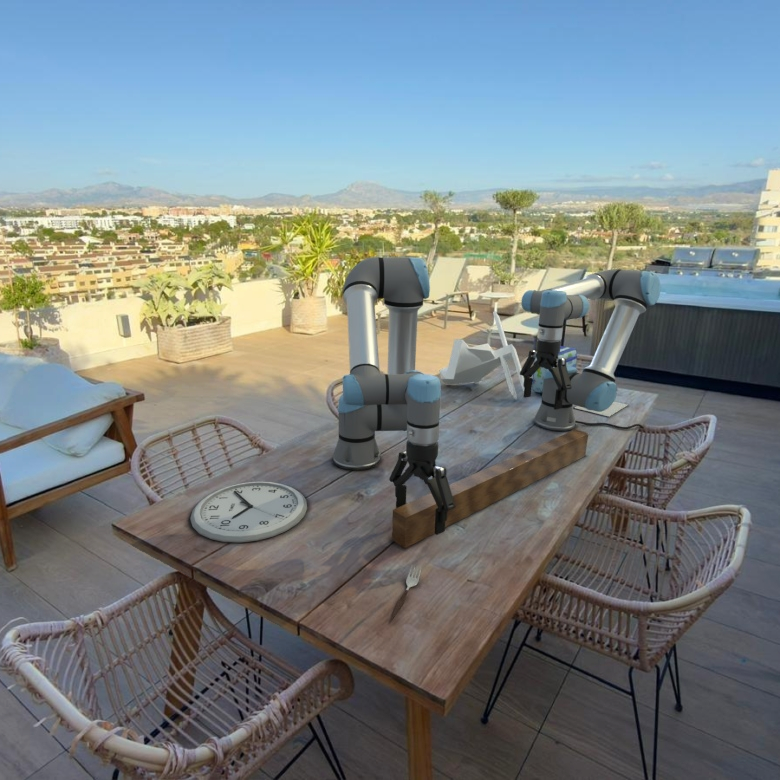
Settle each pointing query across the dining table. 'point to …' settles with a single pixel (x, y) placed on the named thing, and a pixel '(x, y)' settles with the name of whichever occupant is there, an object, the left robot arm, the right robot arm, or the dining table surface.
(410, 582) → the fork
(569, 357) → the lunch box
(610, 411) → the invitation card
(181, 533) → the dining table surface
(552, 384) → the right robot arm
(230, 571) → the dining table surface
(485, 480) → the beam
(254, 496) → the wall clock
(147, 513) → the dining table surface
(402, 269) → the left robot arm
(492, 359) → the white plastic object
